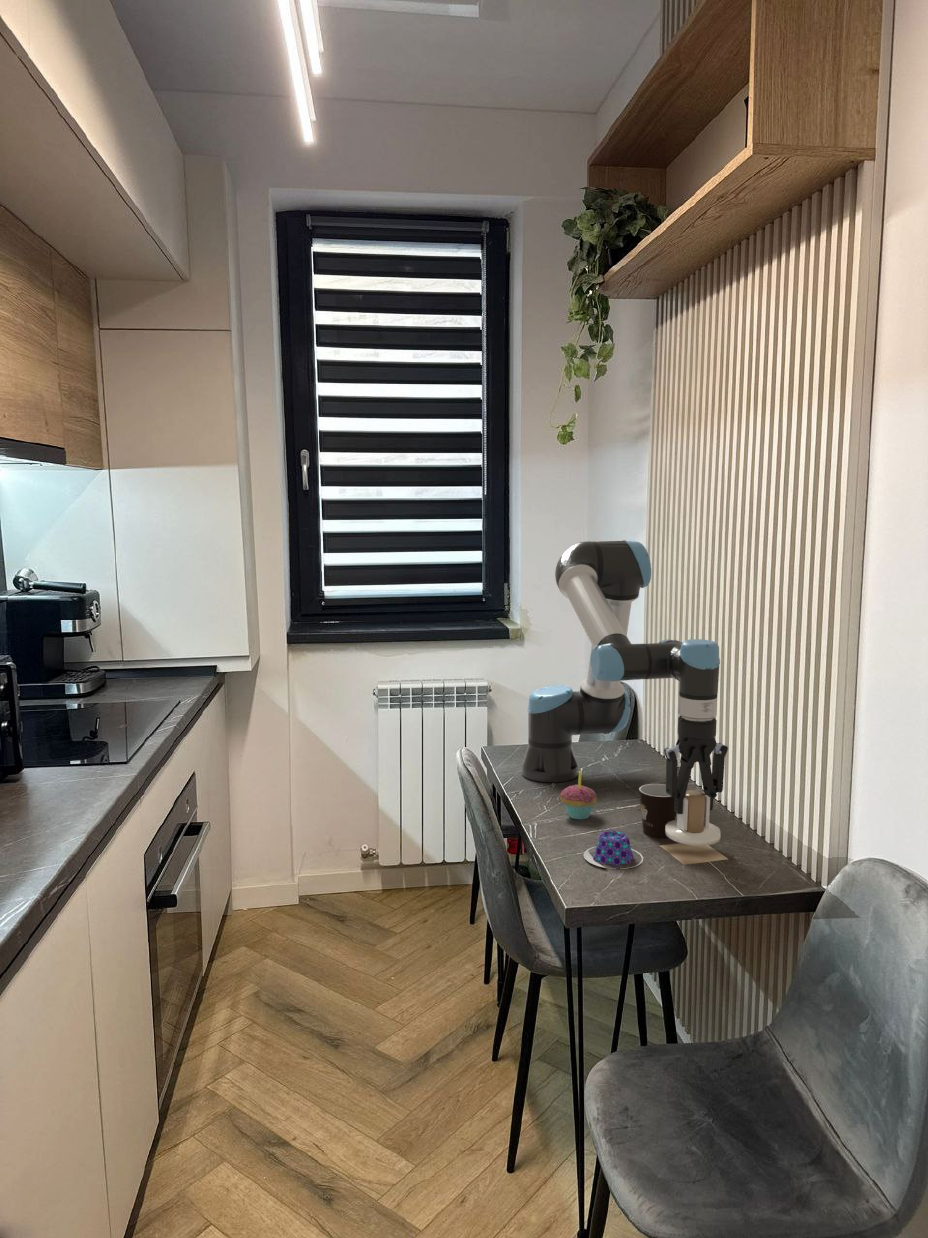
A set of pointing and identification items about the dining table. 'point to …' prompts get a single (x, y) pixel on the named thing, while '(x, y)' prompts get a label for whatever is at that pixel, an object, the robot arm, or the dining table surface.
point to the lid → (694, 824)
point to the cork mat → (693, 853)
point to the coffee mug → (656, 809)
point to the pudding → (611, 850)
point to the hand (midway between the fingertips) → (692, 826)
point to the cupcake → (578, 800)
